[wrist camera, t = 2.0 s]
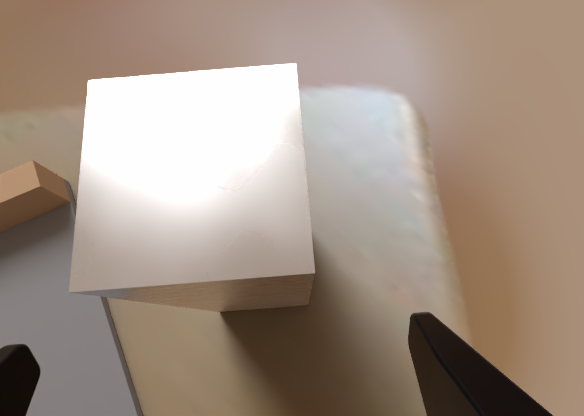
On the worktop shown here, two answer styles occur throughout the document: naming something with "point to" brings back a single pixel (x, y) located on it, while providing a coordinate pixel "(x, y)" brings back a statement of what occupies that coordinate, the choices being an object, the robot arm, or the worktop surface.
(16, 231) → the corner arena
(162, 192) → the aluminium post
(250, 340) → the worktop surface
